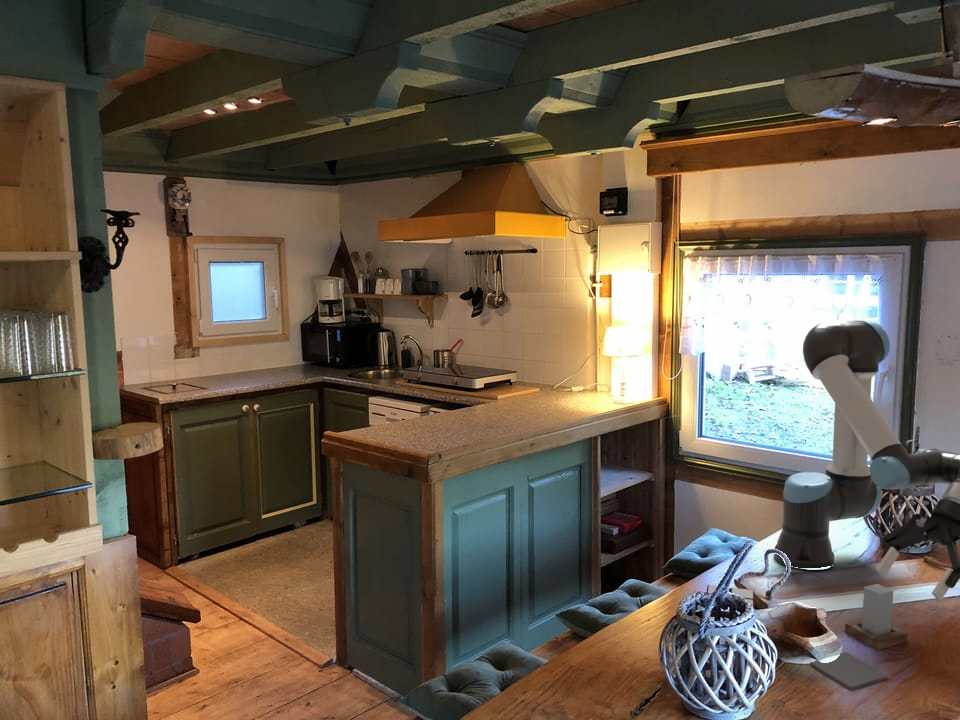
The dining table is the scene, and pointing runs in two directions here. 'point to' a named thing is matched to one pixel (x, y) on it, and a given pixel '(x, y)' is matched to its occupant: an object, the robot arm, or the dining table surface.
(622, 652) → the dining table surface
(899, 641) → the frame
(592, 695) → the dining table surface
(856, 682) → the rubber pad
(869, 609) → the slate block
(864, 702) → the dining table surface
